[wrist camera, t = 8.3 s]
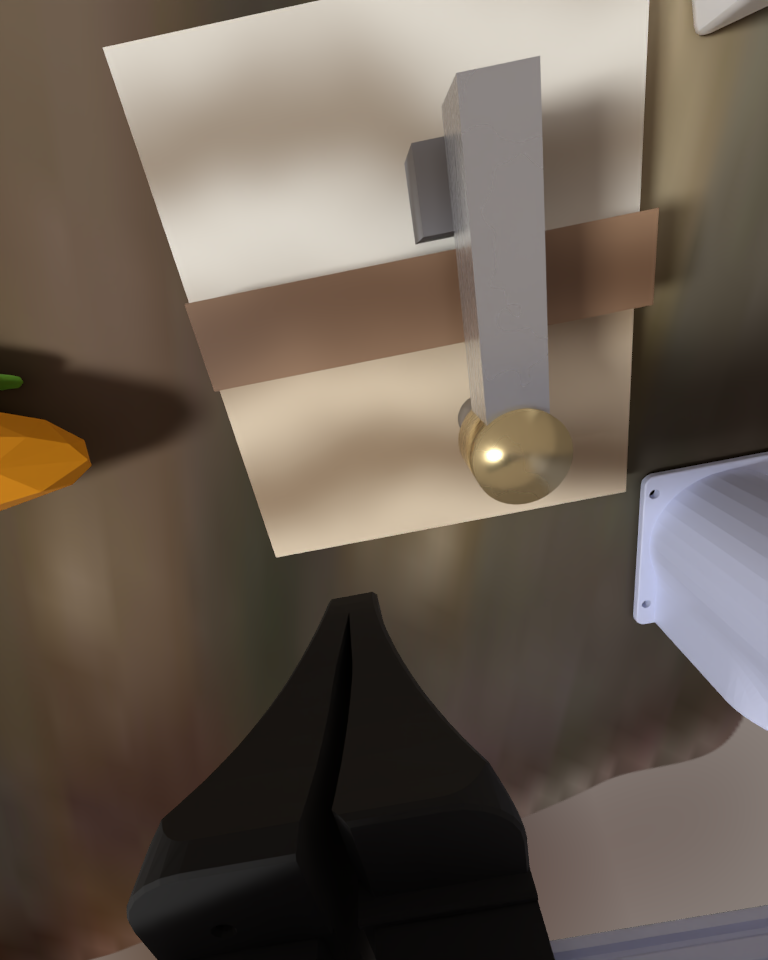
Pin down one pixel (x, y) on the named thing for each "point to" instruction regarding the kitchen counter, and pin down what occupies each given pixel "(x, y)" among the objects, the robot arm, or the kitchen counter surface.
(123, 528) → the kitchen counter surface
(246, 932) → the robot arm
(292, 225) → the brown-striped cream panel
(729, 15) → the container
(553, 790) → the kitchen counter surface
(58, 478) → the corn
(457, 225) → the bar
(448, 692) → the kitchen counter surface
